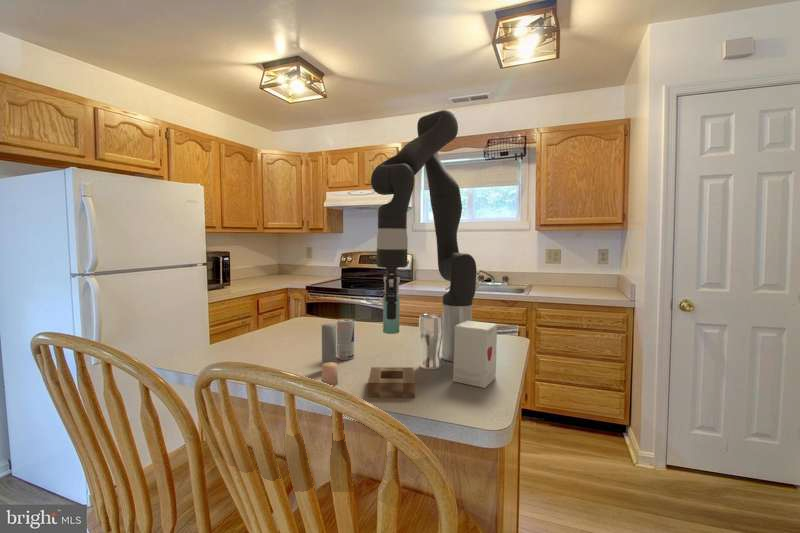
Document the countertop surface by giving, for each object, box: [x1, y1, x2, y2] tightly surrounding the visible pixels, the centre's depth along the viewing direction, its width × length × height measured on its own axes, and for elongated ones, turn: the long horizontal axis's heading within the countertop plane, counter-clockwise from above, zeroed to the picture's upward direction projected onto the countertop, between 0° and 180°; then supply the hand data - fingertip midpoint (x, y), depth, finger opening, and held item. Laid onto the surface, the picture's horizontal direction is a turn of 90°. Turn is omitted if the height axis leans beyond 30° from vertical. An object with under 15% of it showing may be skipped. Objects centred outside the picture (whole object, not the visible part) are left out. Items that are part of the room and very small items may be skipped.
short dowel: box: [321, 362, 339, 387], centre depth 97 cm, size 4×4×5 cm
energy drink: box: [336, 318, 355, 361], centre depth 119 cm, size 5×5×12 cm
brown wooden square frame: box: [367, 366, 416, 398], centre depth 95 cm, size 11×11×4 cm
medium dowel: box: [382, 294, 401, 335], centre depth 94 cm, size 4×4×9 cm
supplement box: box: [452, 320, 498, 389], centre depth 100 cm, size 9×9×15 cm
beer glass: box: [418, 313, 443, 371], centre depth 111 cm, size 7×7×15 cm
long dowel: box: [321, 323, 337, 365], centre depth 107 cm, size 4×4×13 cm
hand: (391, 316), depth 94 cm, fingers closed on medium dowel, 4 cm apart
